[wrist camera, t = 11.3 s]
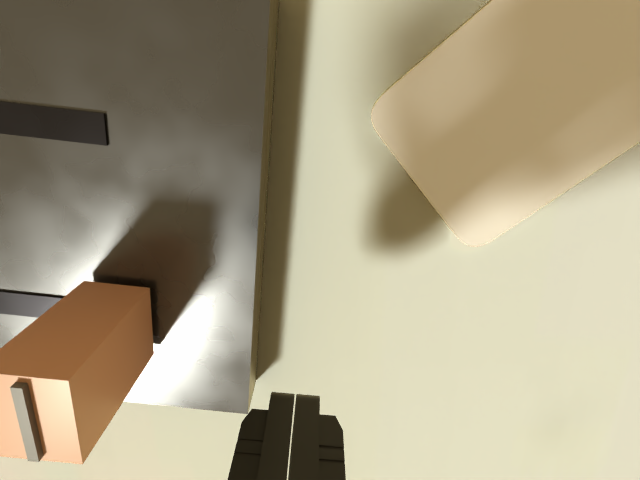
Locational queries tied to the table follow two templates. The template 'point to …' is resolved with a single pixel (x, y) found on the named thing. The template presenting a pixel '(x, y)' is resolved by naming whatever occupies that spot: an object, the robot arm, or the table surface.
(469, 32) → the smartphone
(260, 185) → the console
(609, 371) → the table surface
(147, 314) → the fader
